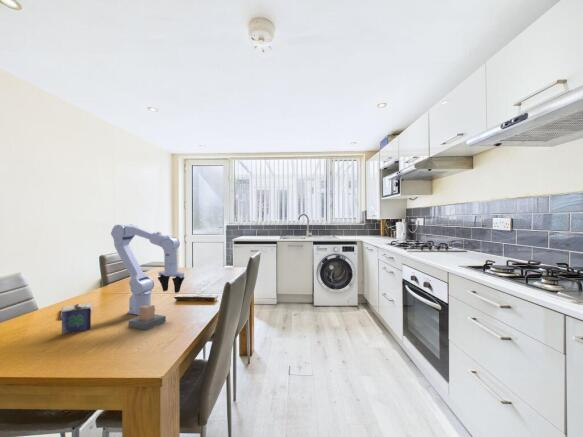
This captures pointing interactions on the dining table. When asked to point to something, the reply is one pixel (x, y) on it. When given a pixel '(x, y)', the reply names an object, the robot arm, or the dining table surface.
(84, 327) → the flask
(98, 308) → the dining table surface
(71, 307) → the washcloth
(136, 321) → the slate plinth
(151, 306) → the terracotta block
